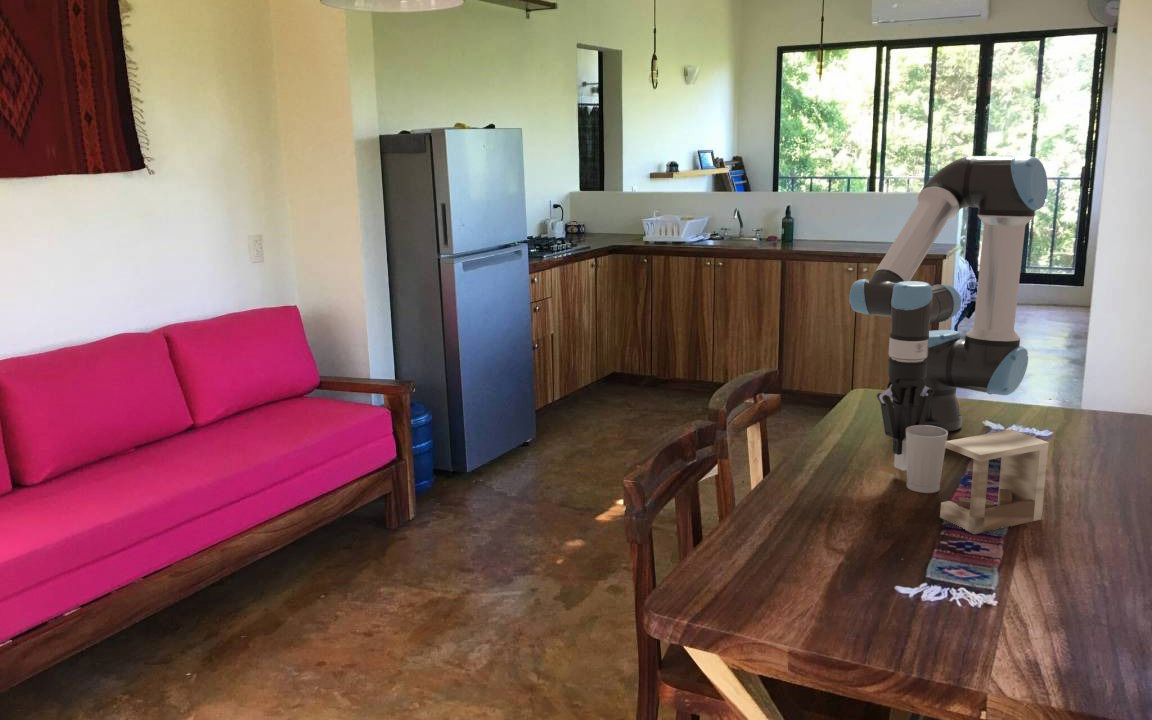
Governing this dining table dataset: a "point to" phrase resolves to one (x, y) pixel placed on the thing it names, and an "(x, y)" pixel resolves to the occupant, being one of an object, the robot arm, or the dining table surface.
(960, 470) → the dining table surface
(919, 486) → the cup
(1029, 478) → the shelf
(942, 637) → the dining table surface
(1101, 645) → the dining table surface
